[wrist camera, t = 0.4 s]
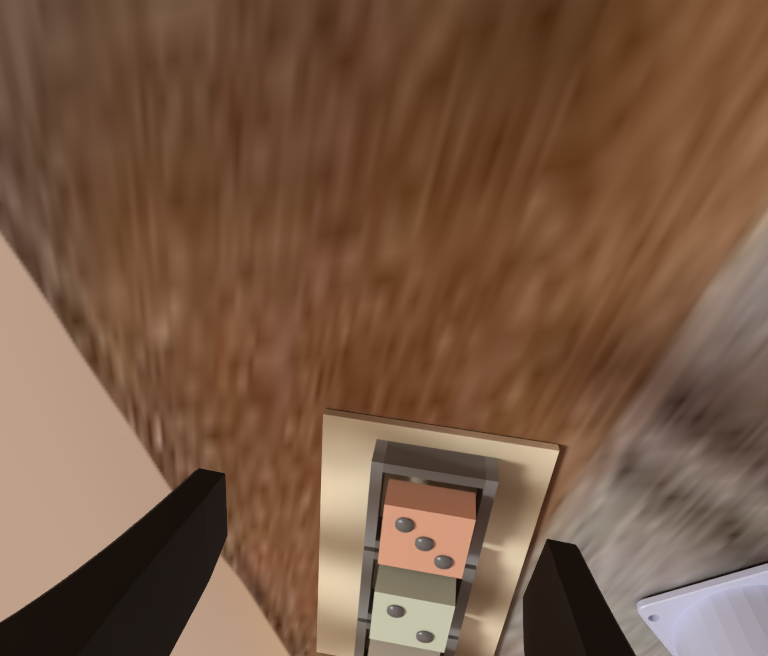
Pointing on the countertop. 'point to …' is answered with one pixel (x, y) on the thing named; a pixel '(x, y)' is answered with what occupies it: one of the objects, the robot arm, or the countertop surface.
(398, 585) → the key two
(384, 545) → the key three
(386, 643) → the key one
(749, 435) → the countertop surface
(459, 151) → the countertop surface
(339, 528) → the key board
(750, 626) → the robot arm
